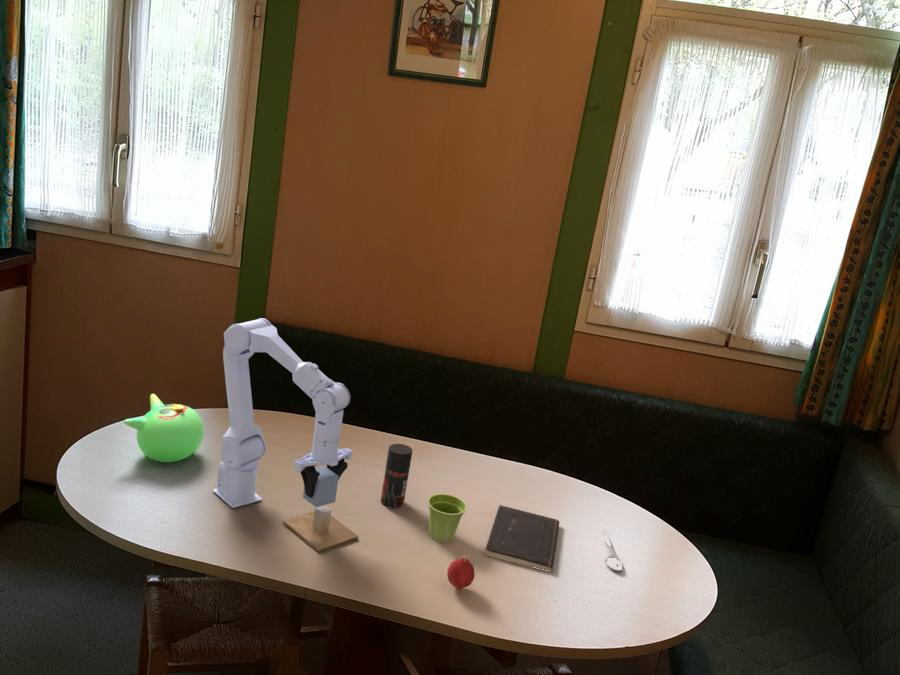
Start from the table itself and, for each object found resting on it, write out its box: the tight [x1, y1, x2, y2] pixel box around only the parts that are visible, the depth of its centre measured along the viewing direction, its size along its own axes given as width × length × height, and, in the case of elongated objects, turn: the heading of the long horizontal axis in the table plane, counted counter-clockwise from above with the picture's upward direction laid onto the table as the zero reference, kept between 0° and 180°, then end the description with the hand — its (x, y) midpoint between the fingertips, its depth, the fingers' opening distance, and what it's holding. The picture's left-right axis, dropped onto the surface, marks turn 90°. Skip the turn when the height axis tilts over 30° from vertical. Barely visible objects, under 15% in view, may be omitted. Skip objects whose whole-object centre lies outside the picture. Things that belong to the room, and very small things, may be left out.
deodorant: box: [380, 443, 413, 509], centre depth 189 cm, size 6×6×15 cm
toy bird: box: [123, 393, 205, 463], centre depth 192 cm, size 18×17×15 cm
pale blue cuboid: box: [302, 465, 340, 508], centre depth 168 cm, size 5×5×7 cm
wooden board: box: [282, 505, 359, 554], centre depth 171 cm, size 14×11×6 cm
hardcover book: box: [485, 504, 560, 573], centre depth 184 cm, size 16×23×2 cm
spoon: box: [607, 546, 623, 572], centre depth 186 cm, size 4×21×2 cm, turn 177°
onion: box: [446, 556, 476, 591], centre depth 159 cm, size 6×6×8 cm
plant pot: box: [427, 493, 468, 543], centre depth 178 cm, size 9×9×9 cm
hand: (319, 492), depth 169 cm, fingers closed on pale blue cuboid, 5 cm apart
